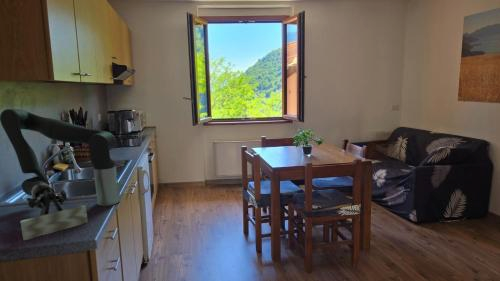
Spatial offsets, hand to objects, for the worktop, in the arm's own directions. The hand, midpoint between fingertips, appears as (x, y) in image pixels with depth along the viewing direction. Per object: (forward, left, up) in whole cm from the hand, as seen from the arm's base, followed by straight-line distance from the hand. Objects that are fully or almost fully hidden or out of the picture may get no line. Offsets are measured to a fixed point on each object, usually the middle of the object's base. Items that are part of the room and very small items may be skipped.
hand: (51, 203), depth 134 cm
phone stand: (0, -3, -8) cm, 8 cm away
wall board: (0, -4, -10) cm, 11 cm away
